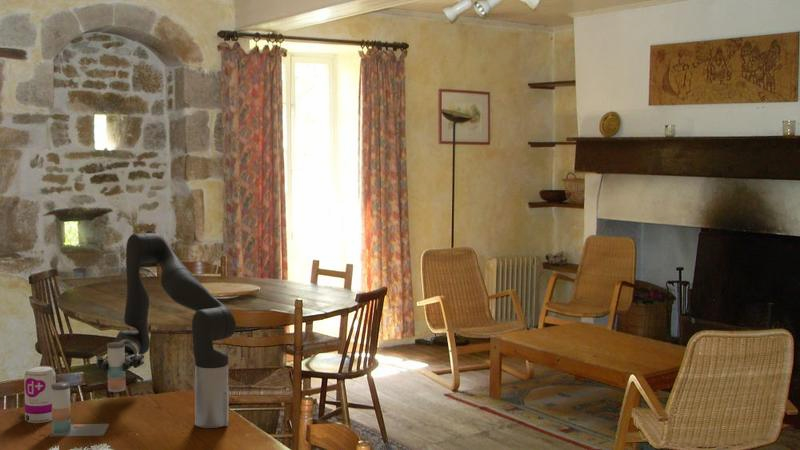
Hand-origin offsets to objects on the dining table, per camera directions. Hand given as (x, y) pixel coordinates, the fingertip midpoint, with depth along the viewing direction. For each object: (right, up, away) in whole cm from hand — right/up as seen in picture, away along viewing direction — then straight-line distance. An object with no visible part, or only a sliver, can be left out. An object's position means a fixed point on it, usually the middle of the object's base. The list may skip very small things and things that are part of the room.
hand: (114, 367), depth 257 cm
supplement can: (-22, -16, +2) cm, 27 cm away
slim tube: (0, -7, +3) cm, 7 cm away
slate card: (-7, -17, -7) cm, 19 cm away
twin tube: (-12, -16, -9) cm, 22 cm away
